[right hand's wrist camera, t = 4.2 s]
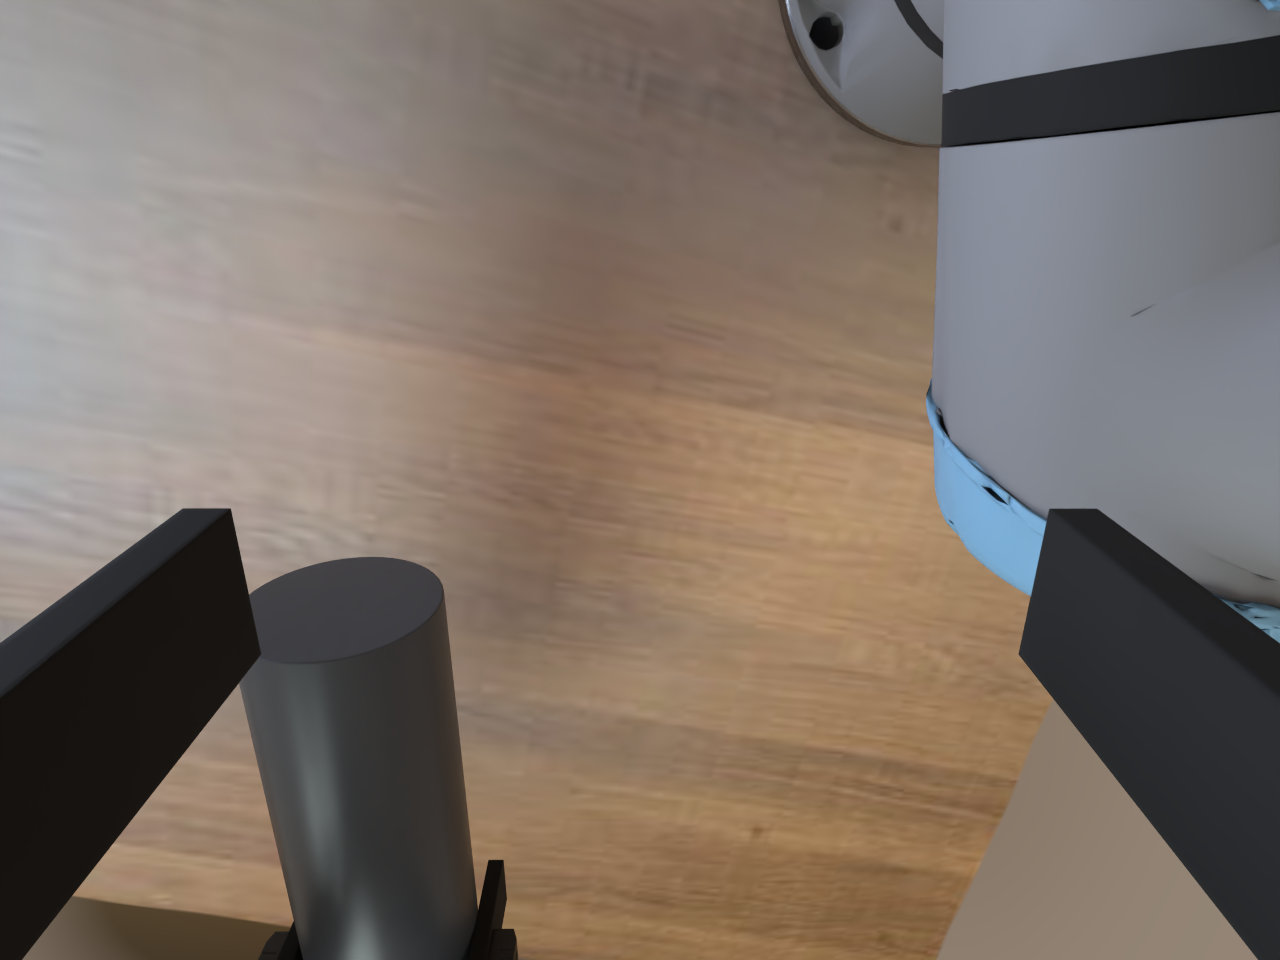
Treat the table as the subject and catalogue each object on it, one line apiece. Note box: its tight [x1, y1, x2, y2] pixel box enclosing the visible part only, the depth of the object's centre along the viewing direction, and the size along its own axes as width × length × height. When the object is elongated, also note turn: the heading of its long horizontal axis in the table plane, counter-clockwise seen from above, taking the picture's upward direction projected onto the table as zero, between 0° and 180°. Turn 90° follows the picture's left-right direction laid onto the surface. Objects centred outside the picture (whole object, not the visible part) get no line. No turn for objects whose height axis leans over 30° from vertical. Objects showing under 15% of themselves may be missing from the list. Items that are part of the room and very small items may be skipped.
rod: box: [239, 557, 478, 960], centre depth 34 cm, size 22×8×8 cm, turn 0°
